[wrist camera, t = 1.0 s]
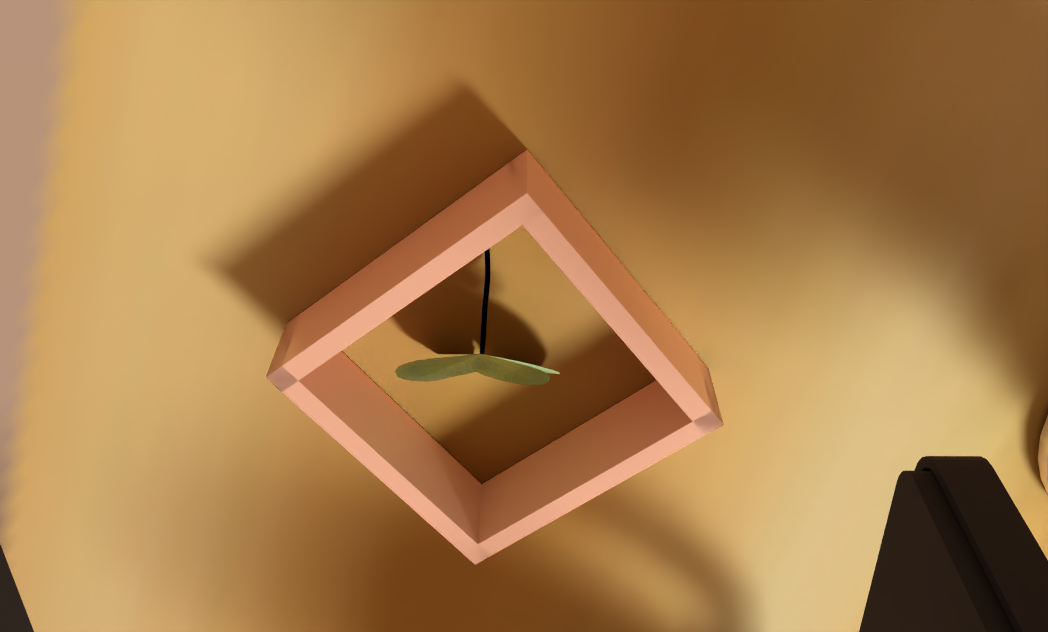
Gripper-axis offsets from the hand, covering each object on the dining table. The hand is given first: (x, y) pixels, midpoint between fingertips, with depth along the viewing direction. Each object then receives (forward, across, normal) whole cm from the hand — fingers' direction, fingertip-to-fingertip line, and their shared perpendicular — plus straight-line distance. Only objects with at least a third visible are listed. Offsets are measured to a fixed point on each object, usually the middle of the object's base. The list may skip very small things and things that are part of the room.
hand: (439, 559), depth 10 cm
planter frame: (+25, 0, +14) cm, 28 cm away
